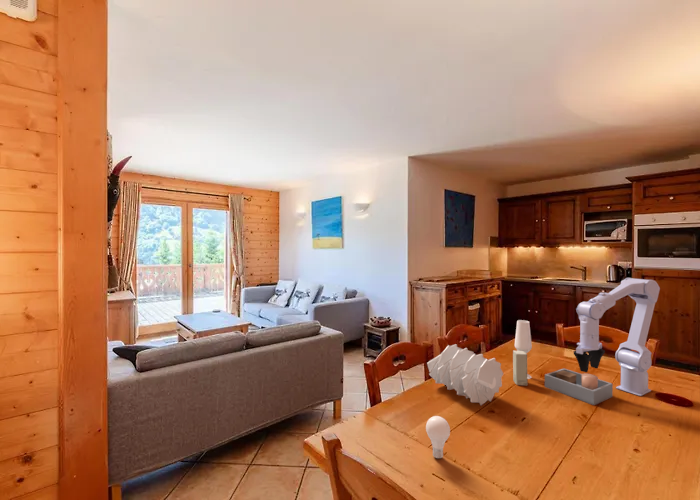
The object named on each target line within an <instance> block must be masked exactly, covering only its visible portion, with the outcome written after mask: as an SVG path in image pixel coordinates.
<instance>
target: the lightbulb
mask: <svg viewBox="0 0 700 500" xmlns="http://www.w3.org/2000/svg"><path fill="white" fill-rule="evenodd" d="M425 432H426V433H427V437H428V438H429V439H430V442H431V446H432V456H433V457H434V458H436V459H442V458H443V457H444V446H445V443H446V442H447V440H448V439H449V437H450V434H451V428H450V424H449V422H448V421H447V420H446V418H444V417H443V416H440V415H433V416H432V417H429V418H428V419H427V421H426V425H425Z"/></svg>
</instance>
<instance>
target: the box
mask: <svg viewBox="0 0 700 500" xmlns="http://www.w3.org/2000/svg"><path fill="white" fill-rule="evenodd" d="M512 366H513V367H512V374H513V375H512V378H513V379H512V380H513V382H514V384H516V385H517V386H528V379H527V374H528V353H525V352H524V351H518V350H512Z"/></svg>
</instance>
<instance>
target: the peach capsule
mask: <svg viewBox="0 0 700 500" xmlns="http://www.w3.org/2000/svg"><path fill="white" fill-rule="evenodd" d="M581 374H582V384H581V386H582V387H585V388H588V389H590V390H594V389H597V388H598V379H599V377H598V376H597V375H595V374H591V373H587V372H583V373H581Z"/></svg>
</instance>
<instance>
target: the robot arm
mask: <svg viewBox="0 0 700 500" xmlns="http://www.w3.org/2000/svg"><path fill="white" fill-rule="evenodd" d="M660 290H661V288H660V286H659V284H658V283H657V281H656V280H654V279H645V278H644V279H643V278H635V277H634V278H632V277H626V278H624V279H623V280H621V281H620V284H619V285H618V286H616V287H615V288H613V289H612V290H611V291H609V292H599V293H598V295H596V296H595V297H592V298H590V299H589V300H588V301H582V302H580V303H578V305H577V307H576V308H575V310H576V313H577V315H578V319H579V322H580V325H579V327H580V330H579V333H580V335H579V336H580V337H579V338H580V339H579V342H577V343H576V345H577V347H576V348H575V350H573V355H574V357H575V358H576V360H577V363H578V367H579V371H580V372H583V373H588V371H589V367H590V368H593V369H598V368H599V365H600V362H601V360H602V358H603V356H604V354H605V352H606V351H605V349H602V348H603V343H602V342H600V336H599V335H600V330H599V329H600V325H599V324H600V319H602V317H603V315H604V313H606V311H607V310H609V309H610V308H612V307H614V306H616V303H617V302H616V301H619V300H620V299H621V298H624V297H626V296H629V297H630V299H632V300H634V302H635V303H636V305H635V308H634V312H633V316H632V320H631V325H630V328H629V333H628V337H627V340H626V341H624V342H622V343H620V344H619V347H618V349H617V350H616V351H615V355H614V357H615V360H616V362H618V366H620V385H618V386H616V387H615V389H616V390H620V391H623V392H626V393H630V394H632V395H636V396H639V397H642V396H644V395H647V394H648V393H650V392H651V391H652V389H649V373H648V370H649V369H650V368H651V366H652V352H651V351H650V350H649V349H648V347H646V343H647V339H648V334H649V330H650V326H651V322H652V318H653V314H654V310H655V305H656V303H657V301H658V298H659V294H660Z"/></svg>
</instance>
